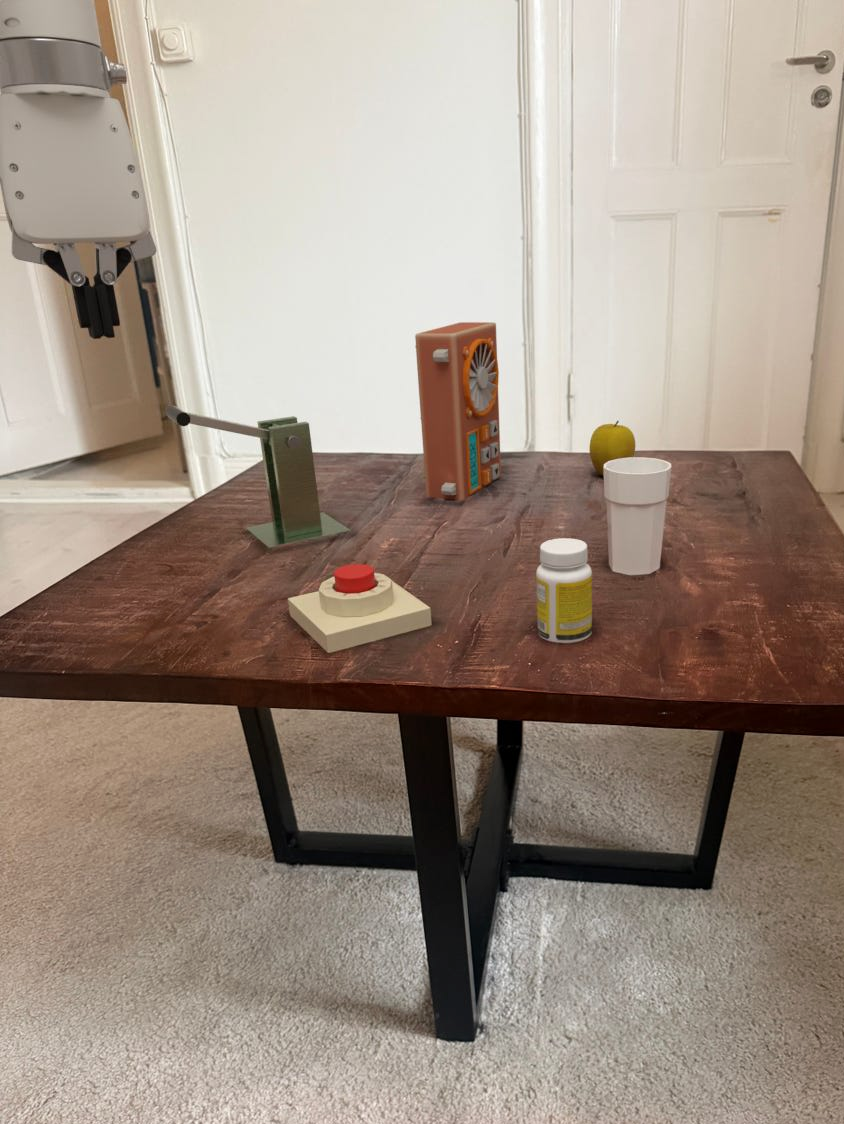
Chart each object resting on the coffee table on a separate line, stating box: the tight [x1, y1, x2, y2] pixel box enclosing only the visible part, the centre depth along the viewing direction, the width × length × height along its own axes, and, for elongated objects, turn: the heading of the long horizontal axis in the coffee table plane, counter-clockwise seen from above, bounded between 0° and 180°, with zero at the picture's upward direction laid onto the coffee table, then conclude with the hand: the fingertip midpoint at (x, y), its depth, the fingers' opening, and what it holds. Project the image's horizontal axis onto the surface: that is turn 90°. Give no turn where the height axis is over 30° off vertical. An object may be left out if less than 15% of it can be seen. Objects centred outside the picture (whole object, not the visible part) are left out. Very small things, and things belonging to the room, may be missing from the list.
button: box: [333, 563, 376, 594], centre depth 81 cm, size 4×4×2 cm
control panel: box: [414, 321, 502, 501], centre depth 116 cm, size 21×7×15 cm
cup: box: [603, 456, 672, 576], centre depth 90 cm, size 7×7×11 cm
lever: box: [165, 405, 280, 445], centre depth 99 cm, size 14×5×2 cm, turn 120°
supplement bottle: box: [535, 537, 593, 644], centre depth 77 cm, size 5×5×8 cm
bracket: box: [245, 415, 351, 548], centre depth 104 cm, size 10×9×14 cm
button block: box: [287, 572, 433, 654], centre depth 82 cm, size 10×10×4 cm
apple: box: [589, 420, 636, 477], centre depth 124 cm, size 6×6×8 cm
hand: (102, 336), depth 74 cm, fingers closed
